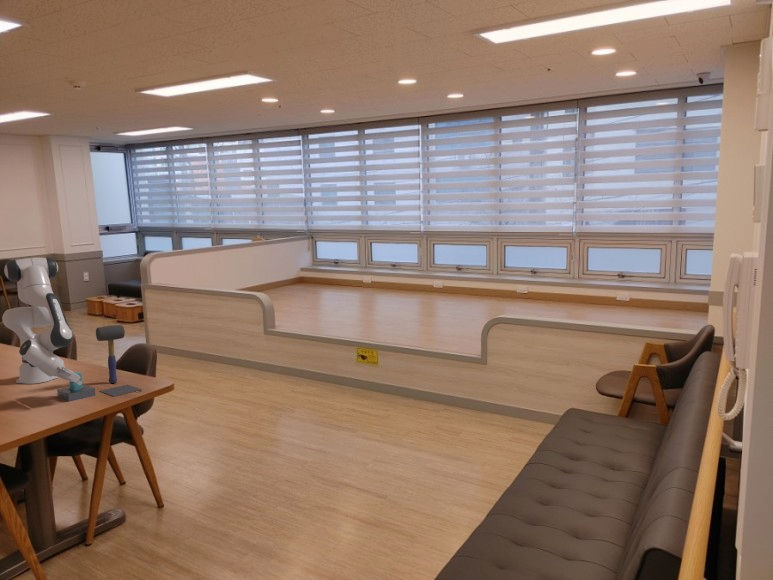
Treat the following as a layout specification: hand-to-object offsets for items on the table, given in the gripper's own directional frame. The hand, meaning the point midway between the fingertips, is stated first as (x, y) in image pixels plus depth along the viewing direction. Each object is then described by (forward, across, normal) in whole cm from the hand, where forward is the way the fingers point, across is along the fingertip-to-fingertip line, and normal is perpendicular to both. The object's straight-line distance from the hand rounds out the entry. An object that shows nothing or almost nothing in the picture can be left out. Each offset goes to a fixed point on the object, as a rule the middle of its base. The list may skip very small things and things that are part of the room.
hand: (77, 382), depth 271 cm
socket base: (+4, 0, +5) cm, 7 cm away
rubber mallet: (+20, +9, -10) cm, 25 cm away
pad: (+17, -8, -7) cm, 20 cm away
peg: (+4, 0, +5) cm, 6 cm away
